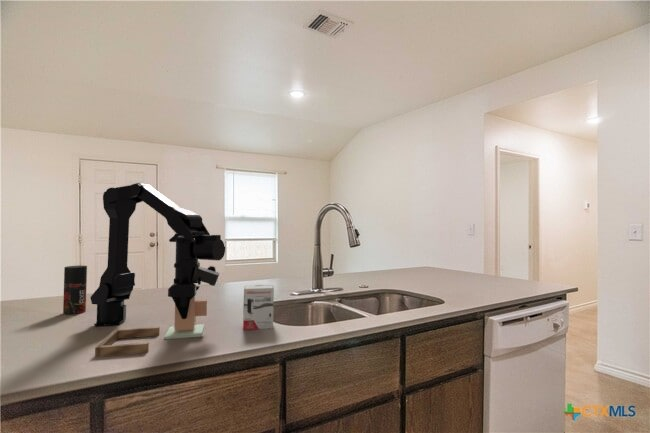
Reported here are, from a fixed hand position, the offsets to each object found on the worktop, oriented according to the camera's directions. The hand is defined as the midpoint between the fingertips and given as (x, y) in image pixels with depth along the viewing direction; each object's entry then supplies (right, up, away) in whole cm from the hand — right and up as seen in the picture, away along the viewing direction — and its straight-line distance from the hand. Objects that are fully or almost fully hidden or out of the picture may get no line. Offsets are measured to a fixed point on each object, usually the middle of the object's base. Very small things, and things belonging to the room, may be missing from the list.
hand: (185, 316), depth 91 cm
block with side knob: (+1, -3, 0) cm, 3 cm away
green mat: (0, -4, 0) cm, 4 cm away
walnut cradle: (-10, -4, -9) cm, 14 cm away
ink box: (+19, -5, +6) cm, 20 cm away
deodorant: (-44, -5, +18) cm, 48 cm away
